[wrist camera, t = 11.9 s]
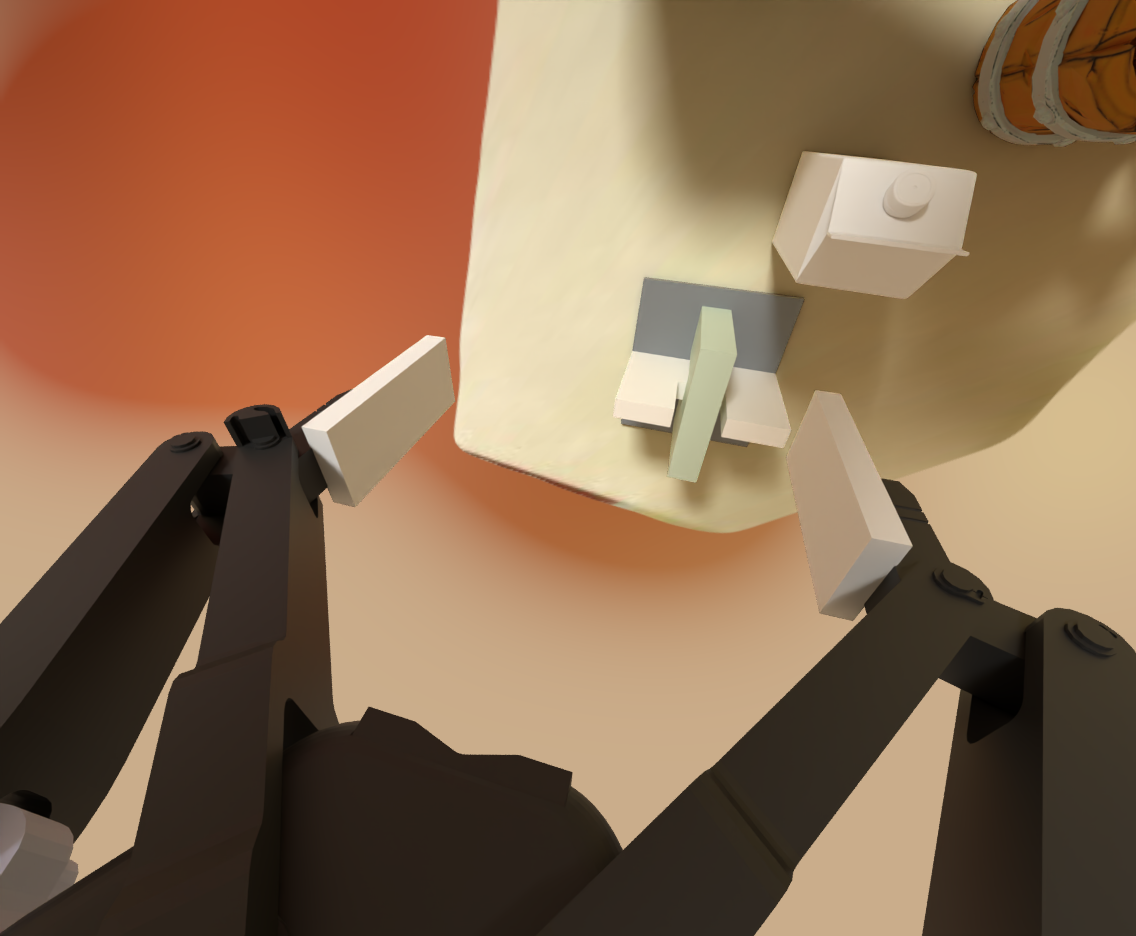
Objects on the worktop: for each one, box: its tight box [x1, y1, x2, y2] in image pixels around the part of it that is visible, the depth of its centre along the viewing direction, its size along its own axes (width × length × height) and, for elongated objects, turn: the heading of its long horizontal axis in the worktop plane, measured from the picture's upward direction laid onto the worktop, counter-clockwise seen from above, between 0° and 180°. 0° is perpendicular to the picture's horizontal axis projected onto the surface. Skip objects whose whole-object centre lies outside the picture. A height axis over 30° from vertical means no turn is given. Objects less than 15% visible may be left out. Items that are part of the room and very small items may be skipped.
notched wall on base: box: [613, 277, 804, 448], centre depth 45 cm, size 16×18×13 cm
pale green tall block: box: [667, 306, 737, 483], centre depth 45 cm, size 14×3×12 cm, turn 176°
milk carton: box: [772, 151, 977, 299], centre depth 31 cm, size 7×7×19 cm
